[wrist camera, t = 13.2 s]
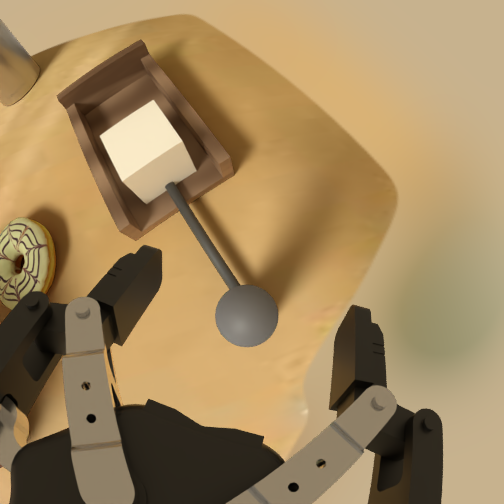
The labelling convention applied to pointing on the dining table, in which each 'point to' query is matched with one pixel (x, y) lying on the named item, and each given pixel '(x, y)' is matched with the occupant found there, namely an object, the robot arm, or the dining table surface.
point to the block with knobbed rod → (185, 213)
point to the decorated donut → (36, 260)
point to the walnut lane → (122, 105)
